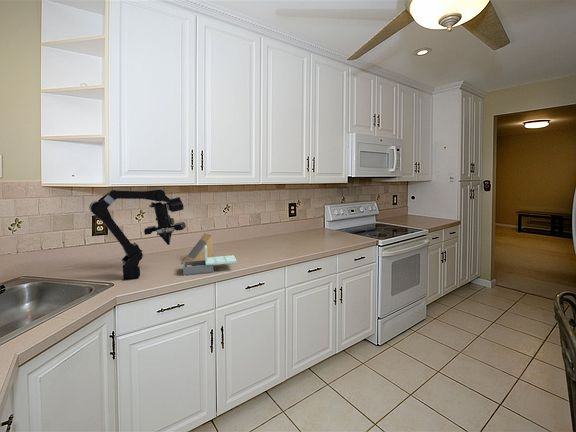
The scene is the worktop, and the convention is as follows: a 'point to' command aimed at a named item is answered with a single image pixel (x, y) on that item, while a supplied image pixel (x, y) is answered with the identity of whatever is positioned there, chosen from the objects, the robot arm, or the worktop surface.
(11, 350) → the worktop surface
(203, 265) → the parts tub
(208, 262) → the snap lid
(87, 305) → the worktop surface
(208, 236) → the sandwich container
